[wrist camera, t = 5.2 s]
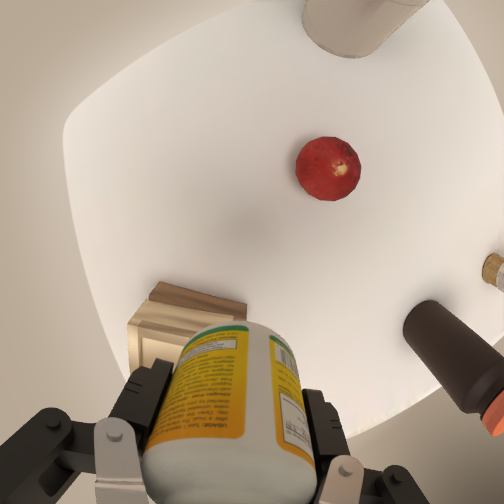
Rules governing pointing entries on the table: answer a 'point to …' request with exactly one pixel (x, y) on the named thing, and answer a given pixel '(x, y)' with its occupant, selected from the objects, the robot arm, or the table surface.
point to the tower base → (197, 301)
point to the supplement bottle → (231, 423)
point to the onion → (328, 168)
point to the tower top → (164, 331)
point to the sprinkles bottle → (494, 271)
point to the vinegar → (459, 362)
